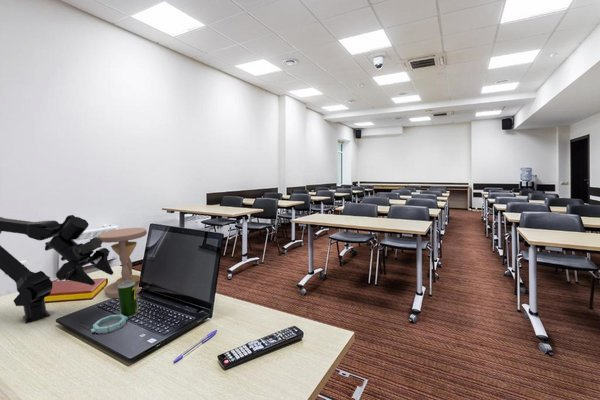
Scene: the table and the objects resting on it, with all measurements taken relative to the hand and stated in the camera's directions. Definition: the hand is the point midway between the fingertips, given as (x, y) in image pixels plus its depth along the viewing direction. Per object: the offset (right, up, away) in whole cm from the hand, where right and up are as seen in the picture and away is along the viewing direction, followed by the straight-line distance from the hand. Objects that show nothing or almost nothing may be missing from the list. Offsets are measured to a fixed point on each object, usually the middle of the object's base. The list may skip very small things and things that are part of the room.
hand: (103, 278), depth 103 cm
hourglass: (-5, -11, +24) cm, 27 cm away
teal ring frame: (+6, -14, -6) cm, 16 cm away
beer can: (+8, -13, +1) cm, 16 cm away
